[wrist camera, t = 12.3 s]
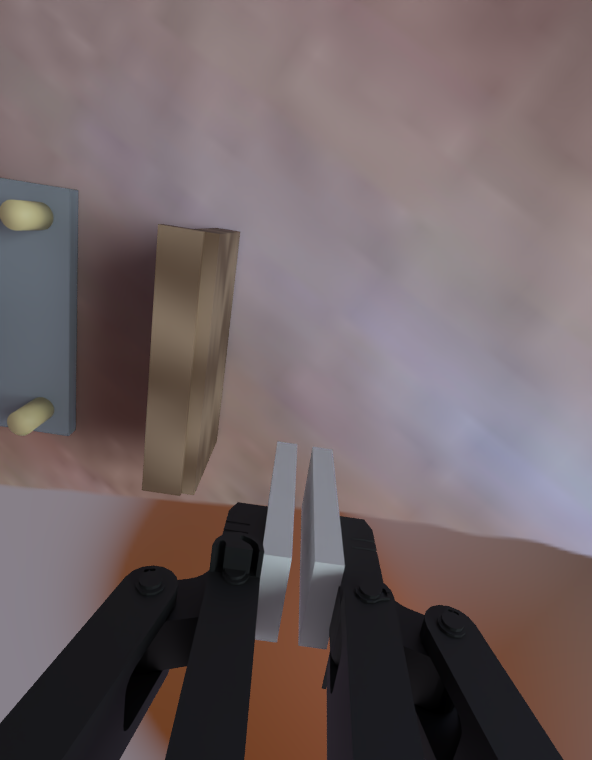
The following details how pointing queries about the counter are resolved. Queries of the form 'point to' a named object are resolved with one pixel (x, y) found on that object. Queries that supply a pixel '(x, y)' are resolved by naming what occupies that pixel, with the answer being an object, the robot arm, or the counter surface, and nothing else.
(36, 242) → the base
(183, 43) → the counter surface
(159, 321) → the panel
